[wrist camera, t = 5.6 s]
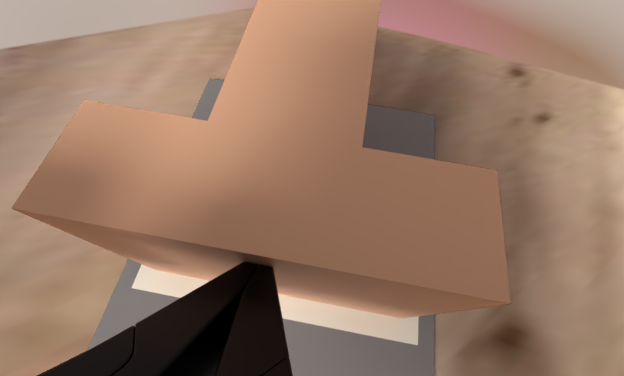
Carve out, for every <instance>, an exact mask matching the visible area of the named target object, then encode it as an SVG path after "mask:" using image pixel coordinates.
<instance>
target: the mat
mask: <svg viewBox="0 0 624 376" xmlns="http://www.w3.org/2000/svg"><path fill="white" fill-rule="evenodd" d="M223 83H224V81H223V80H217V79H211V78H210V79H209V81H208V83H207V86H206V88H205V90H204V92H203V94H202V97H201V99H200V101H199V103H198V106H197V108H196V110H195V112H194V114H193V117H192V118H194V119H200V120H205V121H208V119H209V116H210V114H211V111H212V109H213V107H214V104H215V102H216V100H217V97H218V95H219V92H220V90H221V88H222V85H223ZM362 147H364V148H370V149H375V150H381V151H387V152H393V153H399V154H405V155H411V156H417V157H422V158H428V159H434V160H435V115H431V114H425V113H418V112H412V111H406V110H400V109H394V108H388V107H382V106H376V105H370V104H368V106H367V114H366V121H365V129H364V137H363V145H362ZM207 282H209V281H208V280H203V279H198V278H193V277H188V276H183V275H178V274H173V273H168V272H163V271H157V270H154V269H151V268H149V267H147V266H144V265H142V264H140V263H137V262H135V261H133V260H130V259H128V261H127V263H126V265H125V268H124V270H123V272H122V274H121V276H120V279H119V281H118V283H117V285H116V287H115V290H114V292H113V294H112V296H111V299H110V301H109V303H108V305H107V307H106V310H105V312H104V314H103V316H102V319H101V321H100V323H99V325H98V327H97V330H96V332H95V334H94V336H93V339H92V341H91V343H90V345H89V347H88V350H89V349H91V348H93V347H95V346H97V345H98V344H100V343H102V342H104V341H106V340H107V339H109V338H111V337H113V336H115V335H117V334H118V333H120V332H122V331H124V330H125V329H127V328H129V327H130V326H134V327H135V324H136V323H138V322H139V321H141V320H143V319H145V318H146V317H148V316H150V315H152V314H153V313H155V312H157V311H159V310H160V309H162V308H164V307H165V306H167V305H169V304H171V303H172V302H174V301H176V300H178V299H179V298H181V297H183V296H185V295H186V294H188V293H190V292H192V291H193V290H195V289H197V288H199V287H200V286H202V285H204V284H205V283H207ZM278 296H279V301H280V307H281V313H282V318H283V324H284V329H285V335H286V341H287V346H288V352H289V359H290V362H291V367H292V373H293V376H434V314H432V315H425V316H418V317H410V318H403V319H402V318H397V317H392V316H387V315H381V314H376V313H371V312H366V311H361V310H356V309H351V308H346V307H341V306H336V305H331V304H325V303H320V302H315V301H310V300H305V299H300V298H295V297H290V296H285V295H280V294H278Z"/></svg>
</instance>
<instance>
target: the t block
mask: <svg viewBox="0 0 624 376" xmlns="http://www.w3.org/2000/svg"><path fill="white" fill-rule="evenodd" d="M380 4H381V0H258V2H257V4H256V6H255V9H254V11H253V14H252V16H251V18H250V21H249V23H248V26H247V28H246V30H245V33H244V35H243V37H242V40H241V42H240V45H239V47H238V49H237V52H236V54H235V57H234V59H233V61H232V64H231V66H230V68H229V71H228V73H227V76H226V78H225V80H224V83H223V85H222V88H221V90H220V92H219V95H218V97H217V100H216V102H215V104H214V107H213V109H212V111H211V114H210V116H209V119H208V121H205V120H200V119H194V118H188V117H182V116H176V115H170V114H164V113H158V112H153V111H147V110H141V109H135V108H129V107H123V106H117V105H112V104H106V103H100V102H94V101H88V100H84V101H83V103H82V104H81V106H80V107H79V109H78V110H77V112H76V113H75V115H74V116H73V118H72V119H71V121H70V122H69V123H68V125H67V126H66V128H65V129H64V131H63V132H62V134H61V135H60V137H59V138H58V140H57V141H56V143H55V144H54V146H53V147H52V149H51V150H50V152H49V153H48V155H47V156H46V158H45V159H44V161H43V162H42V164H41V165H40V167H39V168H38V170H37V171H36V173H35V174H34V176H33V177H32V179H31V180H30V182H29V183H28V185H27V186H26V188H25V189H24V191H23V192H22V193H21V195H20V196H19V198H18V199H17V201H16V202H15V204H14V205H13V207H12V209H14V210H16V211H19V212H21V213H23V214H26V215H28V216H30V217H33V218H35V219H37V220H40V221H42V222H44V223H47V224H49V225H51V226H54V227H56V228H58V229H61V230H63V231H65V232H68V233H70V234H72V235H75V236H77V237H79V238H82V239H84V240H86V241H89V242H91V243H93V244H96V245H98V246H100V247H103V248H105V249H107V250H110V251H112V252H114V253H117V254H119V255H121V256H123V257H126V258H128V259H130V260H133V261H135V262H137V263H140V264H142V265H144V266H147V267H149V268H151V269H154V270H157V271H163V272H168V273H173V274H178V275H183V276H188V277H193V278H198V279H203V280H208V281H211V280H212V279H214V278H216V277H218V276H219V275H221V274H223V273H225V272H226V271H228V270H230V269H232V268H233V267H235V266H237V265H239V264H240V263H242V262H249V263H254V264H257V265H258V266H259V265H265V266H270V267H273V269H274V274H275V279H276V285H277V290H278V294H280V295H285V296H290V297H295V298H300V299H305V300H310V301H315V302H320V303H325V304H331V305H336V306H341V307H346V308H351V309H356V310H361V311H366V312H371V313H376V314H381V315H387V316H392V317H397V318H402V319H403V318H410V317H418V316H425V315H432V314H440V313H447V312H454V311H462V310H469V309H476V308H484V307H491V306H498V305H506V304H511V298H510V289H509V279H508V270H507V260H506V250H505V241H504V231H503V222H502V212H501V203H500V193H499V183H498V174H497V170H493V169H487V168H481V167H475V166H469V165H463V164H458V163H452V162H446V161H440V160H434V159H428V158H422V157H417V156H411V155H405V154H399V153H393V152H387V151H381V150H375V149H370V148H364V147H362V145H363V137H364V129H365V121H366V114H367V106H368V98H369V90H370V82H371V75H372V67H373V59H374V51H375V43H376V36H377V28H378V20H379V12H380Z"/></svg>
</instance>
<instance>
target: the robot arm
mask: <svg viewBox="0 0 624 376" xmlns="http://www.w3.org/2000/svg"><path fill="white" fill-rule="evenodd" d="M37 376H293V373H292V367H291V362H290V359H289V352H288V346H287V341H286V335H285V329H284V324H283V318H282V313H281V307H280V301H279V296H278V290H277V285H276V279H275V274H274V269H273V267H270V266H265V265H259V266H258V265H257V264H254V263H249V262H242V263H240V264H239V265H237V266H235V267H233V268H232V269H230V270H228V271H226V272H225V273H223V274H221V275H219V276H218V277H216V278H214V279H212V280H211V281H209V282H207V283H205V284H204V285H202V286H200V287H199V288H197V289H195V290H193V291H192V292H190V293H188V294H186V295H185V296H183V297H181V298H179V299H178V300H176V301H174V302H172V303H171V304H169V305H167V306H165V307H164V308H162V309H160V310H159V311H157V312H155V313H153V314H152V315H150V316H148V317H146V318H145V319H143V320H141V321H139V322H138V323H136V324H135V327H134V326H130V327H129V328H127V329H125V330H124V331H122V332H120V333H118V334H117V335H115V336H113V337H111V338H109V339H107V340H106V341H104V342H102V343H100V344H98V345H97V346H95V347H93V348H91V349H89V350H87V351H85V352H83V353H81V354H79V355H77V356H75V357H73V358H71V359H69V360H68V361H66V362H64V363H62V364H60V365H58V366H56V367H54V368H51V369H49V370H47V371H45V372H43V373H41V374H39V375H37Z"/></svg>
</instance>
